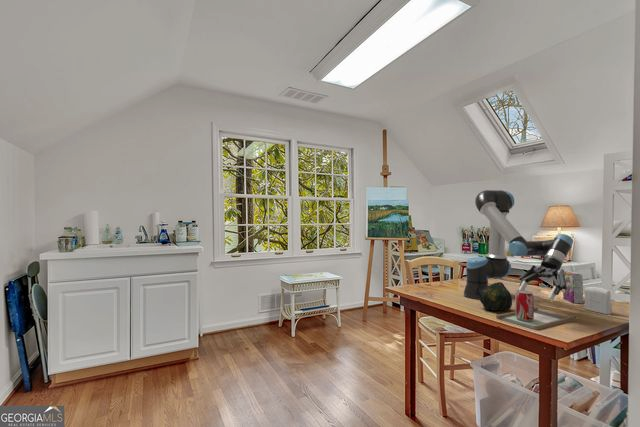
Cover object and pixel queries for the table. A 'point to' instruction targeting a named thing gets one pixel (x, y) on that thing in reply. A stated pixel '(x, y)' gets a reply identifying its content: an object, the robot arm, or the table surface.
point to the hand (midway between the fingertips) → (534, 296)
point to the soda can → (524, 305)
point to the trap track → (536, 319)
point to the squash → (496, 297)
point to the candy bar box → (573, 287)
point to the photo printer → (598, 300)
